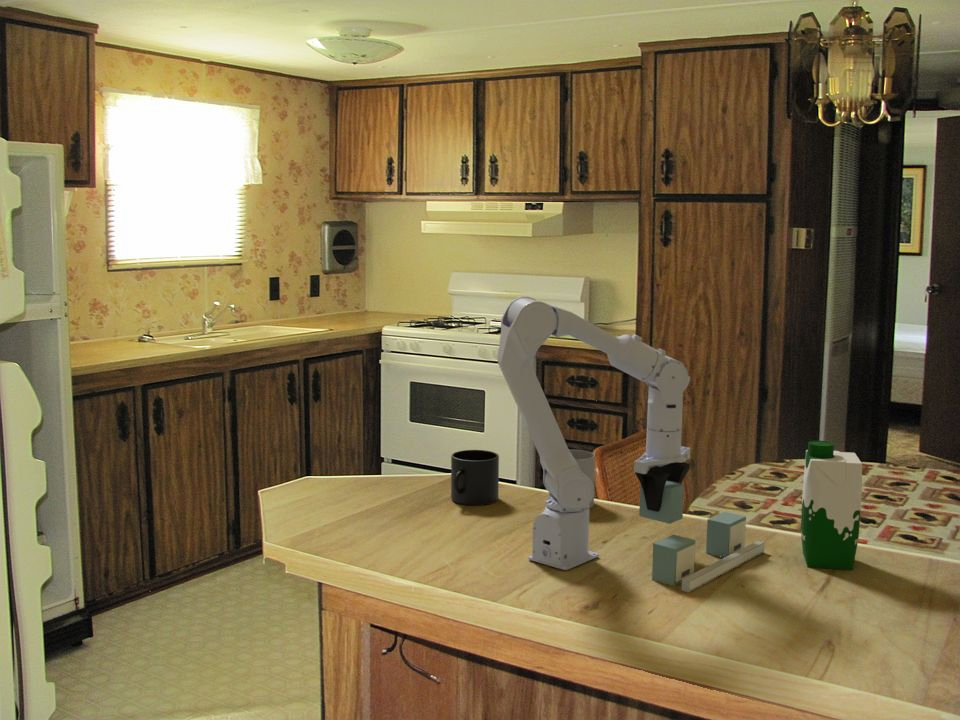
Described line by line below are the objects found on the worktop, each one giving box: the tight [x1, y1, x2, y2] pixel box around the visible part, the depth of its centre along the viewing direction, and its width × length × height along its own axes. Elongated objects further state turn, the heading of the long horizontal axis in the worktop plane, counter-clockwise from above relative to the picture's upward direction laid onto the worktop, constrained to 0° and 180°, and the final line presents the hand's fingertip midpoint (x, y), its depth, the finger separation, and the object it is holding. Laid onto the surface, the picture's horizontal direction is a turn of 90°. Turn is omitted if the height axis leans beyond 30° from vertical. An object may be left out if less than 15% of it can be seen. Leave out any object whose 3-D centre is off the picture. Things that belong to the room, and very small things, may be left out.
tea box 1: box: [638, 480, 685, 524], centre depth 173 cm, size 6×4×6 cm
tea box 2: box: [651, 534, 696, 587], centre depth 163 cm, size 6×4×6 cm
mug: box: [450, 449, 500, 507], centre depth 204 cm, size 9×12×9 cm
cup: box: [569, 449, 596, 509], centre depth 202 cm, size 8×8×10 cm
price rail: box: [681, 540, 766, 593], centre depth 166 cm, size 25×1×2 cm, turn 138°
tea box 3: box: [705, 511, 747, 558], centre depth 175 cm, size 6×4×6 cm
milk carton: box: [800, 440, 863, 571], centre depth 169 cm, size 9×9×20 cm
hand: (661, 507), depth 174 cm, fingers closed on tea box 1, 4 cm apart
